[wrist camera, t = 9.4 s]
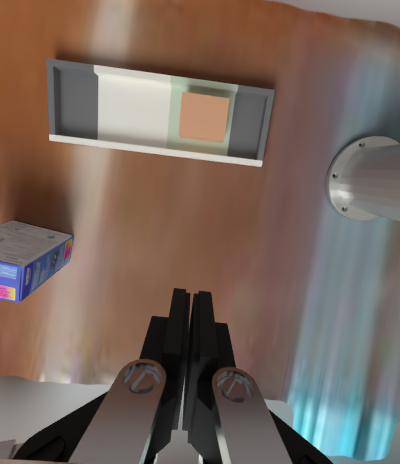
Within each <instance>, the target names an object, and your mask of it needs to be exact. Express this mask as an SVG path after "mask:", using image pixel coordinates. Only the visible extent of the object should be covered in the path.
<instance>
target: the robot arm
mask: <svg viewBox="0 0 400 464" xmlns="http://www.w3.org/2000/svg"><path fill="white" fill-rule="evenodd" d="M333 175H334V176H333ZM326 192H327V196H328V199H329V201H330V203H331V205H332V206H333V208H334V209H335V210H336V211H337V212H338V213H340V214H341V215H343V216H345V217H347V218H350V219H353V220H359V221H367V220H373V219H377V218H379V217H381V216H382V217H385V218H389V219H393V220H397V221H400V143H399V142H397V141H395V140H394V139H392V138H389V137H385V136H370V137H365V138H362V139H358V140H356V141H354V142H352V143H350V144H349V145H348V146H346V147H345V148H344V149H343V150H342V151H341V152H340V153H339V154H338V155H337V156H336V157H335V159H334V160H333V162H332V164H331V166H330V168H329V171H328V174H327V179H326ZM342 208H343V209H342ZM189 312H190V293H186V289H178V288H174V291H173V297H172V302H171V308H170V313H169V318H168V317H158V316H152V318H151V321H150V324H149V328H148V331H147V335H146V338H145V341H144V345H143V348H142V351H141V355H140V358H139V360H135V361H132V362H130V363H128V364H127V365H125V366H124V367H123V368H122V369H121V371H120V372H119V374H118V375H117V377H116V379H115V381H114V382H113V384H112V386H111V388H110V389H109V391H108V392H106V393H104V394H102V395H101V396H99V397H97V398H96V399H94V400H92V401H91V402H89V403H87V404H85V405H84V406H82V407H80V408H79V409H77V410H75V411H73V412H72V413H70V414H68V415H67V416H65V417H63V418H61V419H60V420H58V421H57V422H55V423H53V424H51V425H50V426H48V427H46V428H44V429H43V430H41V431H39V432H38V433H36V434H35V435H33V436H32V437H31V438H29V439H28V440H27V441H26V442H25V443H21V444H16V440H8V441H2V442H0V464H156V461H157V454H158V452H159V451H160V450H161V449H163V448H164V447H165V446H166V445H167V444H168V443H169V442H170V439H171V431H172V429H173V430H177V428H178V422H179V414H180V406H181V400H182V392H183V385H184V377H185V388H184V407H183V426H182V430H185V431H188V443H191V444H192V446H193V447H194V448H195V449H196V450H197V452H198V453H199V464H333V463H332V462H331V461H330V460H329V459H328V458H327V457H326V456H325V455H324V454H323V453H321V452H320V451H319V450H318V449H317V448H315V447H314V446H313V445H312V444H310V443H309V442H308V441H307V440H306V439H304V438H303V437H302V436H301V435H299V434H298V433H297V432H296V431H295V430H293V429H292V428H291V427H290V426H289V425H287V424H286V423H285V422H284V421H282V420H281V419H280V418H279V417H277V416H276V415H275V414H274V413H273V412H271V411H270V410H269V409H268V408H267V405H266V403H265V401H264V399H263V396H262V394H261V392H260V390H259V387H258V385H257V383H256V382H255V380H254V379H253V378H252V377H251V376H250V375H249V374H248V373H247V372H245V371H243V370H241V369H238V368H236V365H235V360H234V355H233V350H232V345H231V340H230V335H229V330H228V325H227V324H226V323H217V322H215V320H214V312H213V303H212V295H211V292H206V291H199V293H198V294H194V297H193V304H192V312H191V319H190V327H189ZM188 333H189V334H188Z"/></svg>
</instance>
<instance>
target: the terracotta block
mask: <svg viewBox="0 0 400 464" xmlns="http://www.w3.org/2000/svg"><path fill="white" fill-rule="evenodd" d="M229 100H230V98H224V97H216V96H209V95H202V94H194V93H187V92H182V101H181V112H180V123H179V136H180V138H185V139H193V140H201V141H209V142H217V143H222V142H223V141H224V137H225V130H226V122H227V115H228V107H229Z"/></svg>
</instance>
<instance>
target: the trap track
mask: <svg viewBox="0 0 400 464" xmlns="http://www.w3.org/2000/svg"><path fill="white" fill-rule="evenodd" d="M47 87H48V115H49V140H50V141H56V142H63V143H71V144H79V145H87V146H96V147H104V148H112V149H120V150H128V151H136V152H144V153H152V154H160V155H169V156H177V157H185V158H193V159H201V160H209V161H217V162H225V163H233V164H241V165H250V166H258V167H262V161H263V156H264V150H265V144H266V138H267V133H268V127H269V121H270V116H271V110H272V104H273V98H274V93H275V90H271V89H264V88H257V87H250V86H243V85H235V84H228V83H221V82H214V81H207V80H199V79H192V78H185V77H178V76H171V75H164V74H156V73H149V72H142V71H135V70H128V69H120V68H113V67H106V66H99V65H92V64H84V63H77V62H70V61H63V60H56V59H48V58H47ZM182 92H187V93H194V94H202V95H209V96H216V97H224V98H230V100H229V107H228V115H227V122H226V130H225V137H224V141H223V142H222V143H217V142H209V141H201V140H193V139H185V138H180V136H179V123H180V112H181V101H182Z"/></svg>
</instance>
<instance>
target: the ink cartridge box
mask: <svg viewBox="0 0 400 464" xmlns="http://www.w3.org/2000/svg"><path fill="white" fill-rule="evenodd" d="M72 243H73V236H72V235H69V234H65V233H61V232H57V231H53V230H49V229H45V228H41V227H37V226H33V225H29V224H25V223H21V222H17V221H10V222H7V223H4V224H1V225H0V299H4V300H8V301H13V302H18V303H20V302H21V301H22V300H23V299H25V298H26V297H27V296H28V295H29V294H31V293H32V292H33V291H34V290H35V289H37V288H38V287H39V286H40V285H42V284H43V283H44V282H45V281H46V280H48V279H49V278H50V277H51V276H52V275H54V274H55V273H56V272H57V271H59V270H60V269H61V268H62V267H63V266H65V265H66V264H67V263H68V262H69V259H70V254H71V249H72Z"/></svg>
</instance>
